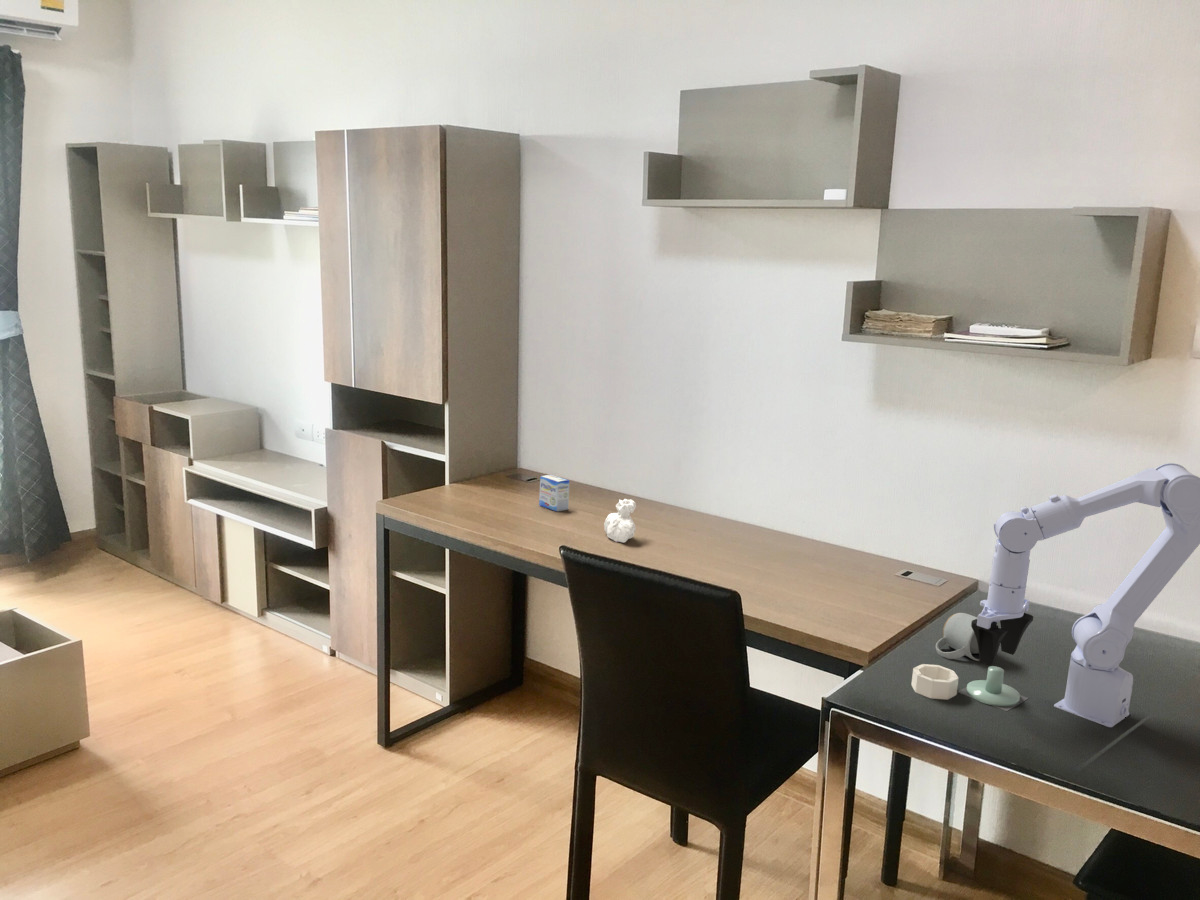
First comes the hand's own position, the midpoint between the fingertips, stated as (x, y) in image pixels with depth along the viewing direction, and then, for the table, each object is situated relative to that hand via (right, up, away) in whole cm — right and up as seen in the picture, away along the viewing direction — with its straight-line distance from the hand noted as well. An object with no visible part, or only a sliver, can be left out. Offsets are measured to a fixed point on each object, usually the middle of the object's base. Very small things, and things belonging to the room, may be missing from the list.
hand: (997, 657), depth 172 cm
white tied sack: (-63, +13, +83) cm, 105 cm away
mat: (0, -7, +1) cm, 7 cm away
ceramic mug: (+1, -4, +19) cm, 20 cm away
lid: (0, -7, +1) cm, 7 cm away
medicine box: (-81, +19, +109) cm, 137 cm away
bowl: (-10, -6, +3) cm, 12 cm away
